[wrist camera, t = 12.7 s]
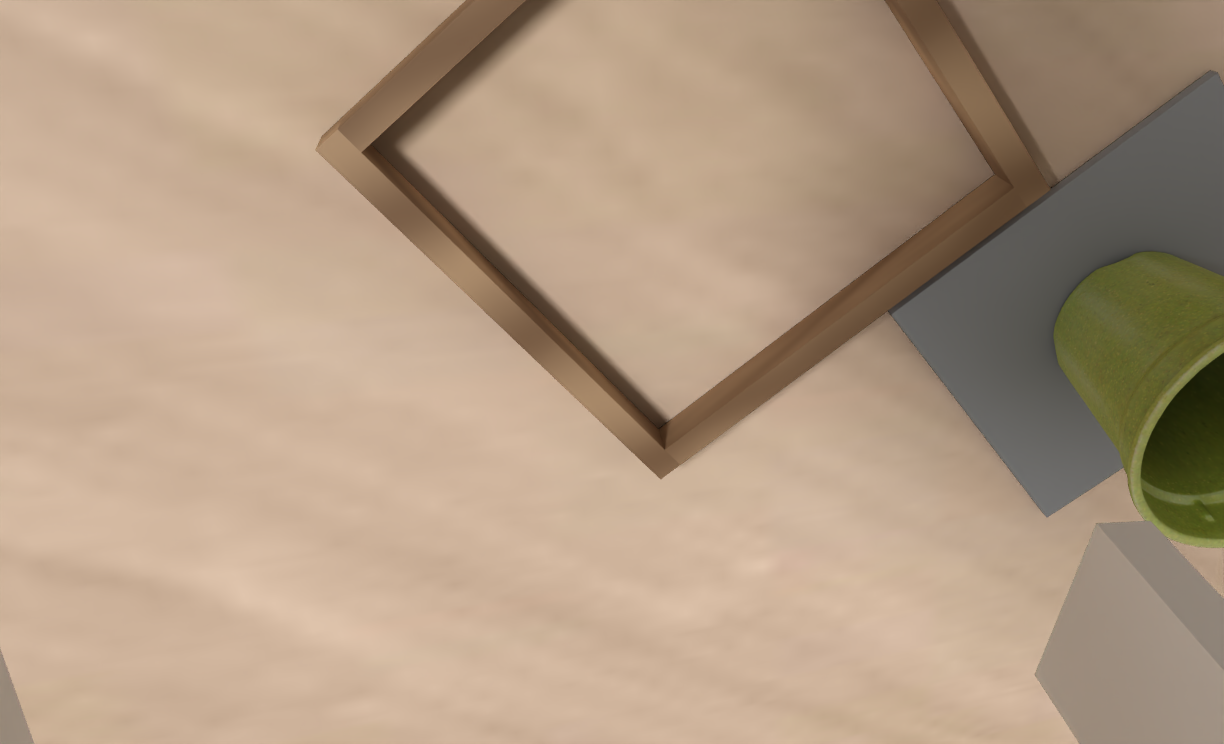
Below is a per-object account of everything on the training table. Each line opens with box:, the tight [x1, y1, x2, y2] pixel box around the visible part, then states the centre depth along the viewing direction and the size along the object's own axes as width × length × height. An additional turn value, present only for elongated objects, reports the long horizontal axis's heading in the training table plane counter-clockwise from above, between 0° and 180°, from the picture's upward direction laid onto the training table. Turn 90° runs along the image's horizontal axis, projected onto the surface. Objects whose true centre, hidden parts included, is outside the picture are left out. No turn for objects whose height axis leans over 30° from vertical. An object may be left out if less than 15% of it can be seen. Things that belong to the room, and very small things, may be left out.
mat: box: [888, 70, 1224, 517], centre depth 40 cm, size 14×14×1 cm
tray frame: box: [316, 0, 1051, 479], centre depth 34 cm, size 18×18×2 cm
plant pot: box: [1053, 251, 1224, 548], centre depth 36 cm, size 9×9×9 cm
